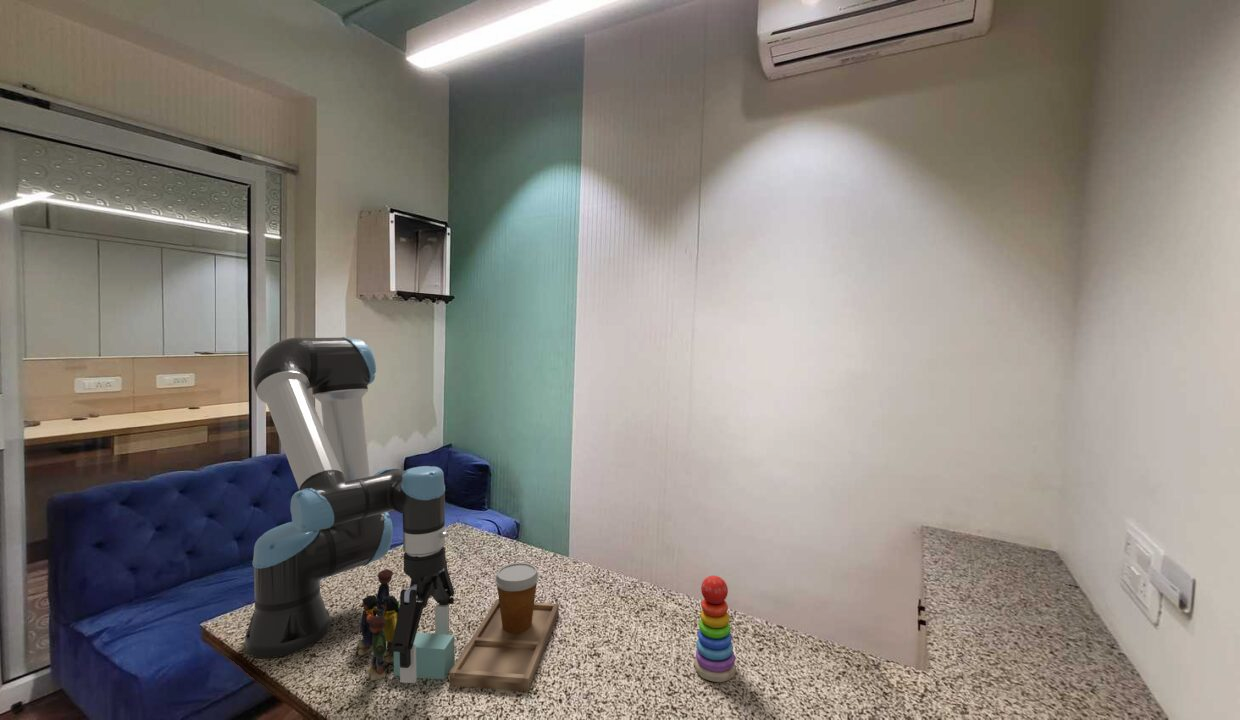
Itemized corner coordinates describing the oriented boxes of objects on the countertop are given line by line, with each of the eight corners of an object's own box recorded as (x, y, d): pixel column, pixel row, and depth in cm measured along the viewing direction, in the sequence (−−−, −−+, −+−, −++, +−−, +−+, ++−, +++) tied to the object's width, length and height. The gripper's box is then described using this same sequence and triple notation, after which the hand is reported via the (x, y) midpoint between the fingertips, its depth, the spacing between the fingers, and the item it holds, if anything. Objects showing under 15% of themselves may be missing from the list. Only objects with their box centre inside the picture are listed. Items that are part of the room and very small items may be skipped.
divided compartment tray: (449, 685, 92) (449, 672, 92) (496, 610, 118) (496, 600, 117) (528, 691, 91) (528, 678, 91) (558, 614, 116) (558, 603, 116)
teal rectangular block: (393, 676, 95) (393, 645, 94) (406, 660, 99) (405, 631, 99) (444, 680, 94) (444, 649, 94) (454, 664, 98) (454, 635, 98)
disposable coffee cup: (514, 643, 102) (514, 587, 102) (485, 627, 108) (485, 573, 108) (548, 622, 110) (548, 569, 109) (519, 608, 116) (519, 557, 115)
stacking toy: (706, 652, 103) (708, 563, 102) (742, 668, 98) (744, 575, 97) (686, 671, 97) (688, 577, 96) (723, 690, 92) (725, 591, 91)
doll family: (343, 631, 109) (342, 571, 108) (387, 616, 115) (387, 559, 114) (374, 688, 91) (373, 617, 91) (424, 667, 97) (423, 600, 97)
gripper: (409, 581, 83) (412, 705, 83) (469, 525, 107) (470, 622, 108) (367, 579, 83) (369, 702, 84) (435, 524, 108) (437, 620, 109)
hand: (426, 657), depth 96 cm, fingers open, 13 cm apart
